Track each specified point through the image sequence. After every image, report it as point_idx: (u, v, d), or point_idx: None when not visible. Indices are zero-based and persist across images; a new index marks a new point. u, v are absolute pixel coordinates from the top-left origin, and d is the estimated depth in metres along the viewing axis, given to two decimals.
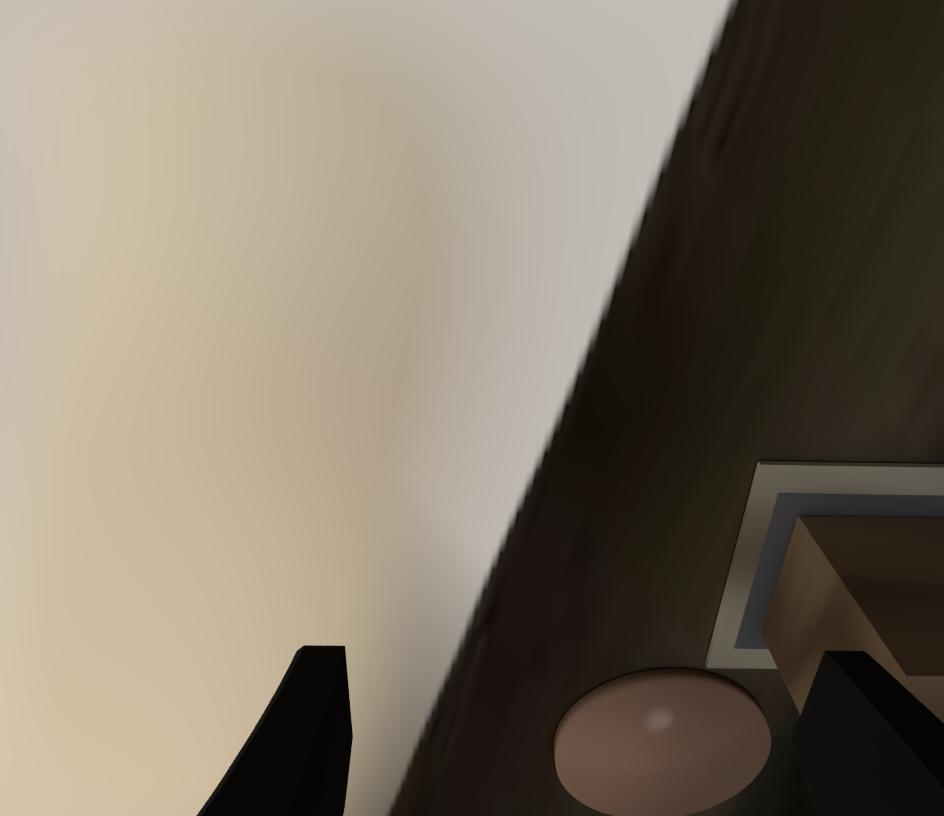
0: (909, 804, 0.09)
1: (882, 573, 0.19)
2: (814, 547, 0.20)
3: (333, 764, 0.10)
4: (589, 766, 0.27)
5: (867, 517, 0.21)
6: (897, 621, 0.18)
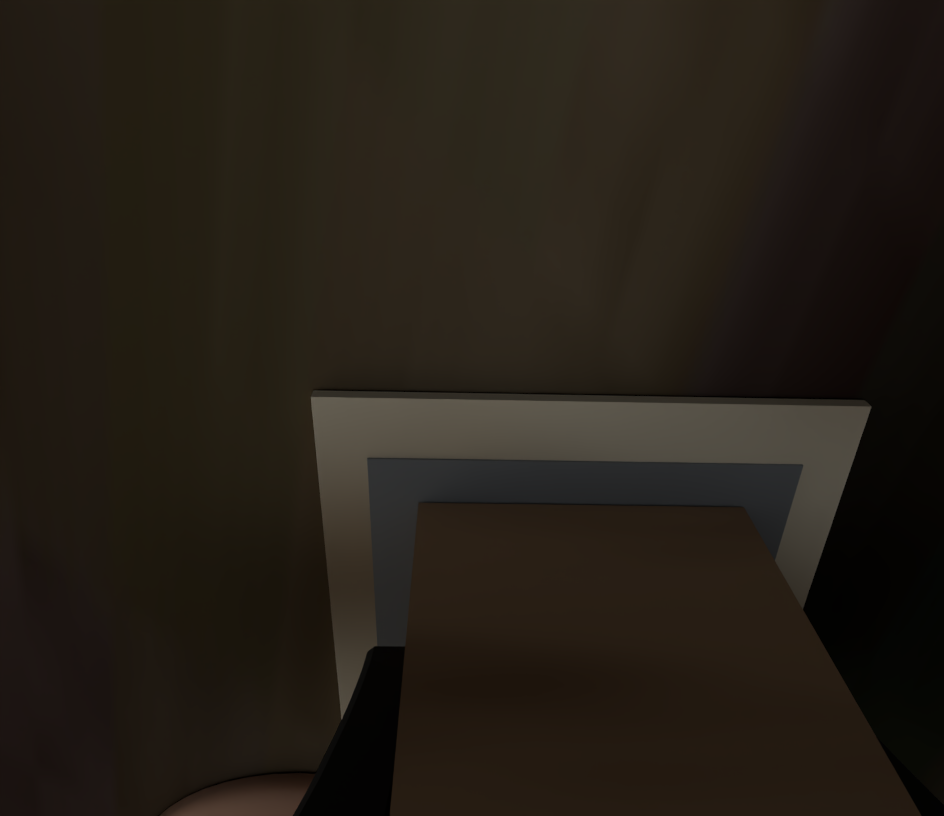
0: None
1: (511, 631, 0.09)
2: (413, 567, 0.10)
3: None
4: None
5: (556, 507, 0.11)
6: (466, 764, 0.07)
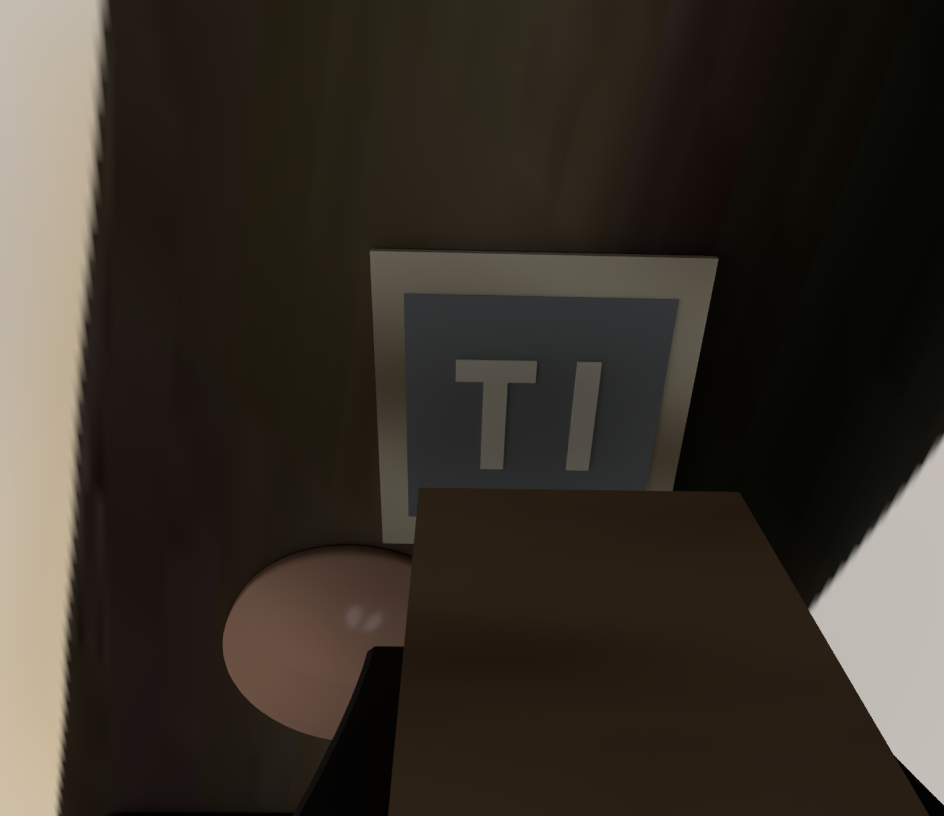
0: None
1: (510, 608, 0.09)
2: (414, 550, 0.10)
3: None
4: (269, 672, 0.22)
5: (555, 491, 0.11)
6: (466, 732, 0.07)
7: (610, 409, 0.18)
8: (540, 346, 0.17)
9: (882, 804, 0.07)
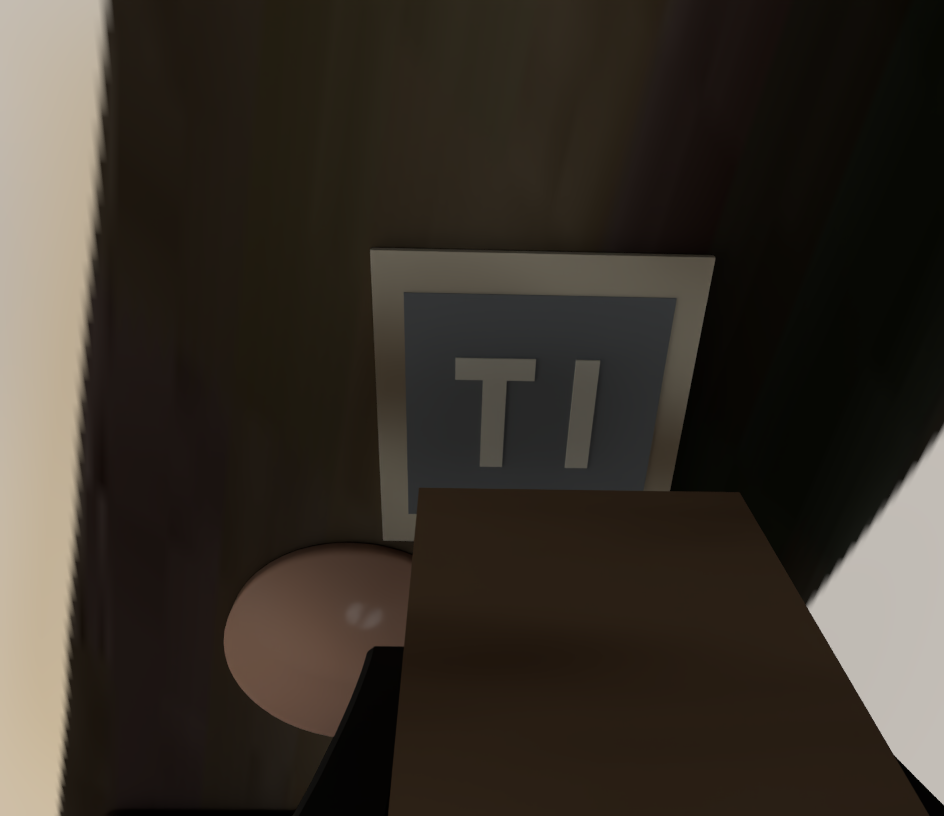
0: None
1: (511, 609, 0.09)
2: (414, 550, 0.10)
3: None
4: (270, 669, 0.22)
5: (555, 492, 0.11)
6: (467, 734, 0.07)
7: (608, 407, 0.18)
8: (538, 345, 0.17)
9: (882, 805, 0.07)
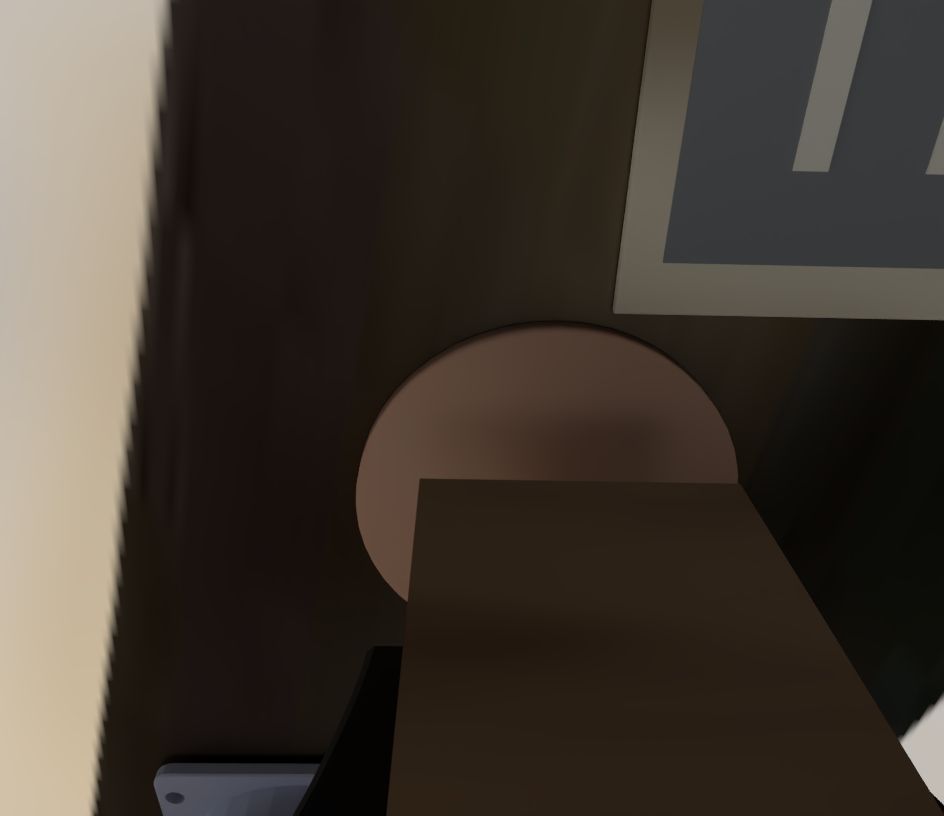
0: None
1: (511, 595, 0.09)
2: (414, 538, 0.10)
3: None
4: None
5: (555, 482, 0.11)
6: (467, 716, 0.07)
7: None
8: None
9: (886, 786, 0.07)
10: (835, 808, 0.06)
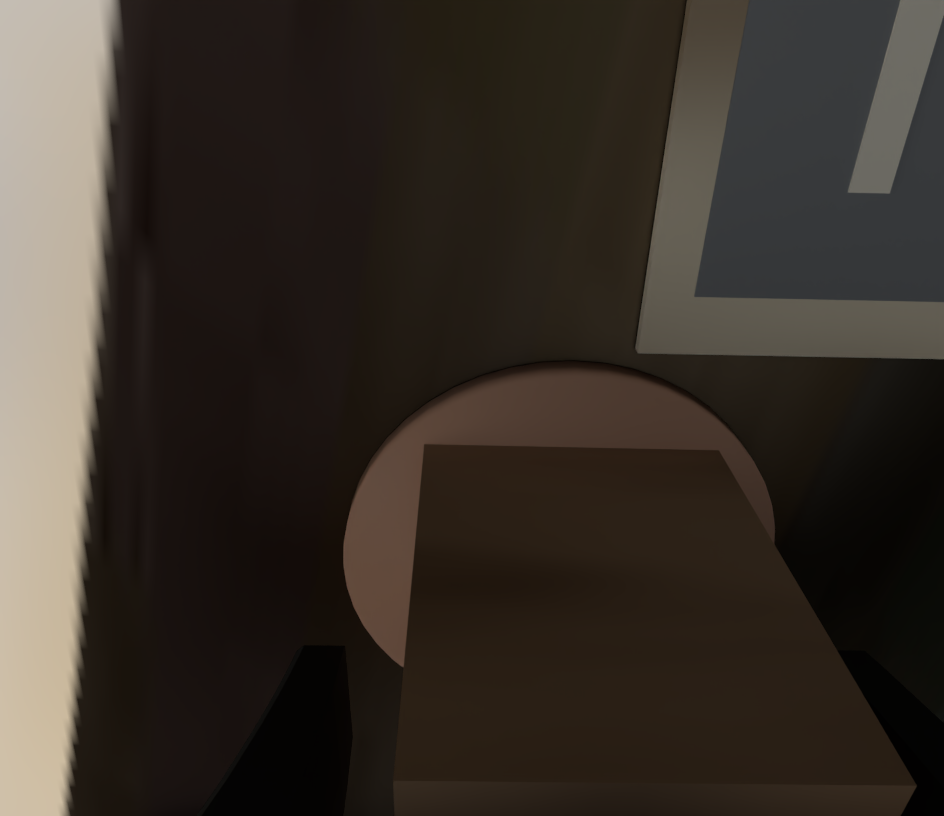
0: (909, 804, 0.09)
1: (508, 545, 0.10)
2: (420, 497, 0.11)
3: (333, 764, 0.10)
4: None
5: (549, 448, 0.12)
6: (467, 642, 0.08)
7: None
8: None
9: (831, 700, 0.08)
10: (786, 716, 0.07)
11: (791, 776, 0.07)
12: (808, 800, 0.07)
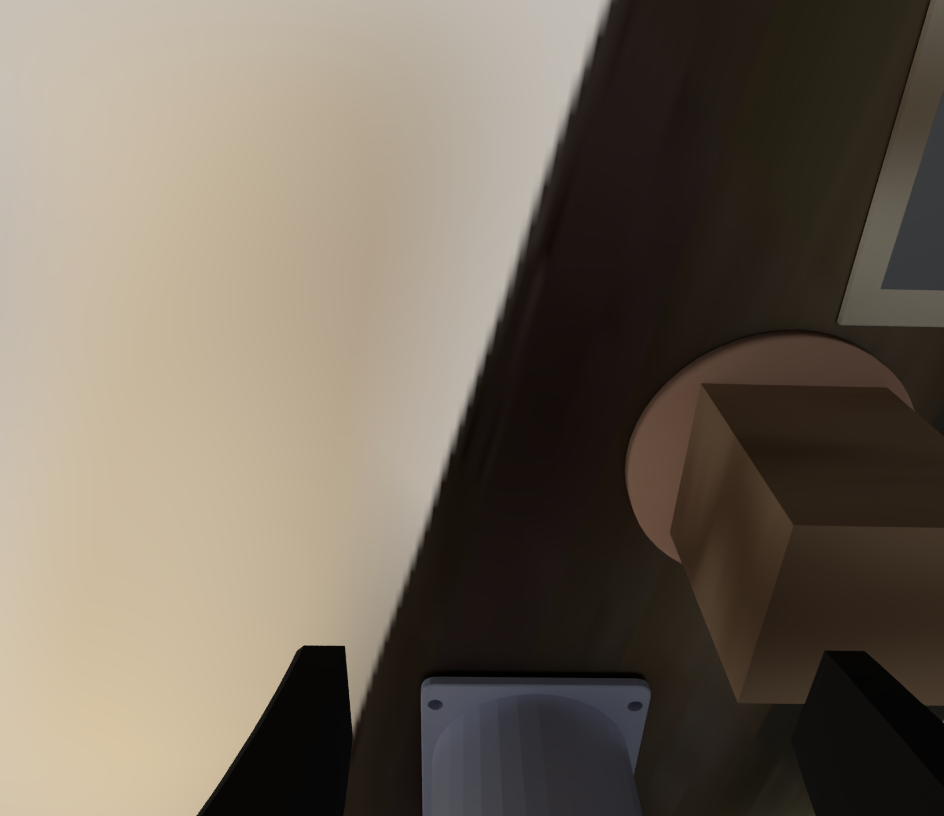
0: (909, 804, 0.09)
1: (787, 433, 0.16)
2: (714, 412, 0.18)
3: (333, 764, 0.10)
4: (673, 487, 0.20)
5: (780, 385, 0.19)
6: (794, 475, 0.15)
7: None
8: None
9: None
10: None
11: None
12: None
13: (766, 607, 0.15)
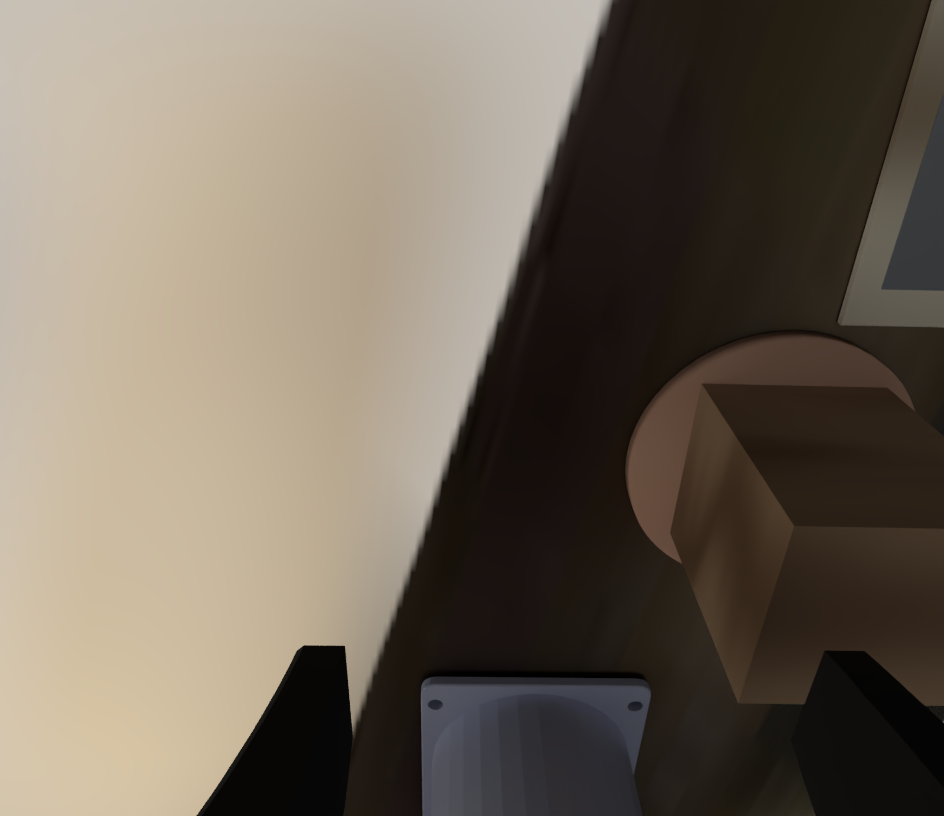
0: (909, 804, 0.09)
1: (788, 434, 0.16)
2: (715, 412, 0.18)
3: (333, 764, 0.10)
4: (673, 487, 0.20)
5: (781, 386, 0.19)
6: (794, 476, 0.15)
7: None
8: None
9: None
10: None
11: None
12: None
13: (767, 607, 0.15)
